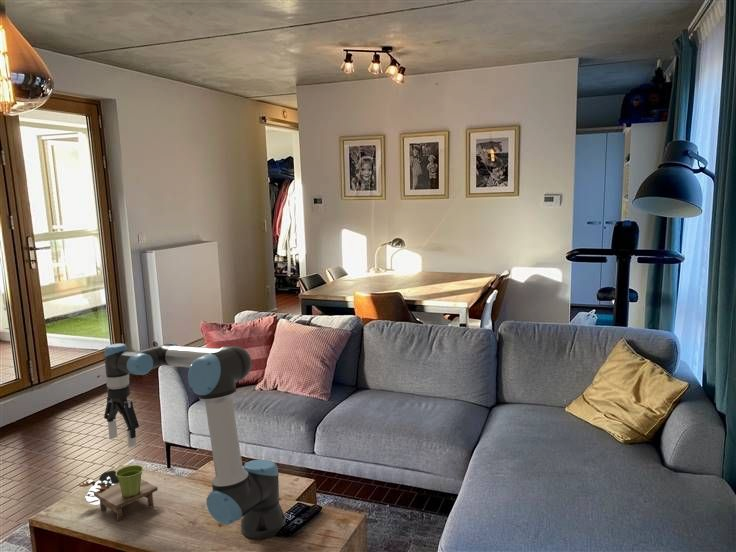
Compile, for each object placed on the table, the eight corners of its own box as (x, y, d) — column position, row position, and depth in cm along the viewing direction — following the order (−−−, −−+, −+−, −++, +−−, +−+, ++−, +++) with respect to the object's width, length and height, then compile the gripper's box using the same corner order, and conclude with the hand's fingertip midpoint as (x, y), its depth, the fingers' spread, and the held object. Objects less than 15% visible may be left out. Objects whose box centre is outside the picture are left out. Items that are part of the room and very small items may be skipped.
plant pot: (111, 498, 194) (109, 475, 193) (127, 485, 203) (126, 464, 202) (134, 500, 192) (132, 477, 191) (149, 488, 201) (148, 466, 200)
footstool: (158, 504, 202) (157, 487, 202) (117, 524, 190) (115, 505, 189) (135, 492, 212) (134, 475, 211) (95, 510, 199) (93, 492, 199)
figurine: (135, 471, 216) (104, 485, 198) (133, 495, 215) (102, 511, 198) (105, 466, 219) (72, 480, 201) (103, 490, 218) (69, 505, 201)
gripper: (146, 389, 192) (150, 446, 194) (111, 378, 207) (115, 431, 209) (126, 394, 186) (130, 453, 188) (91, 383, 201) (96, 437, 203)
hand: (122, 442), depth 198 cm, fingers open, 13 cm apart
